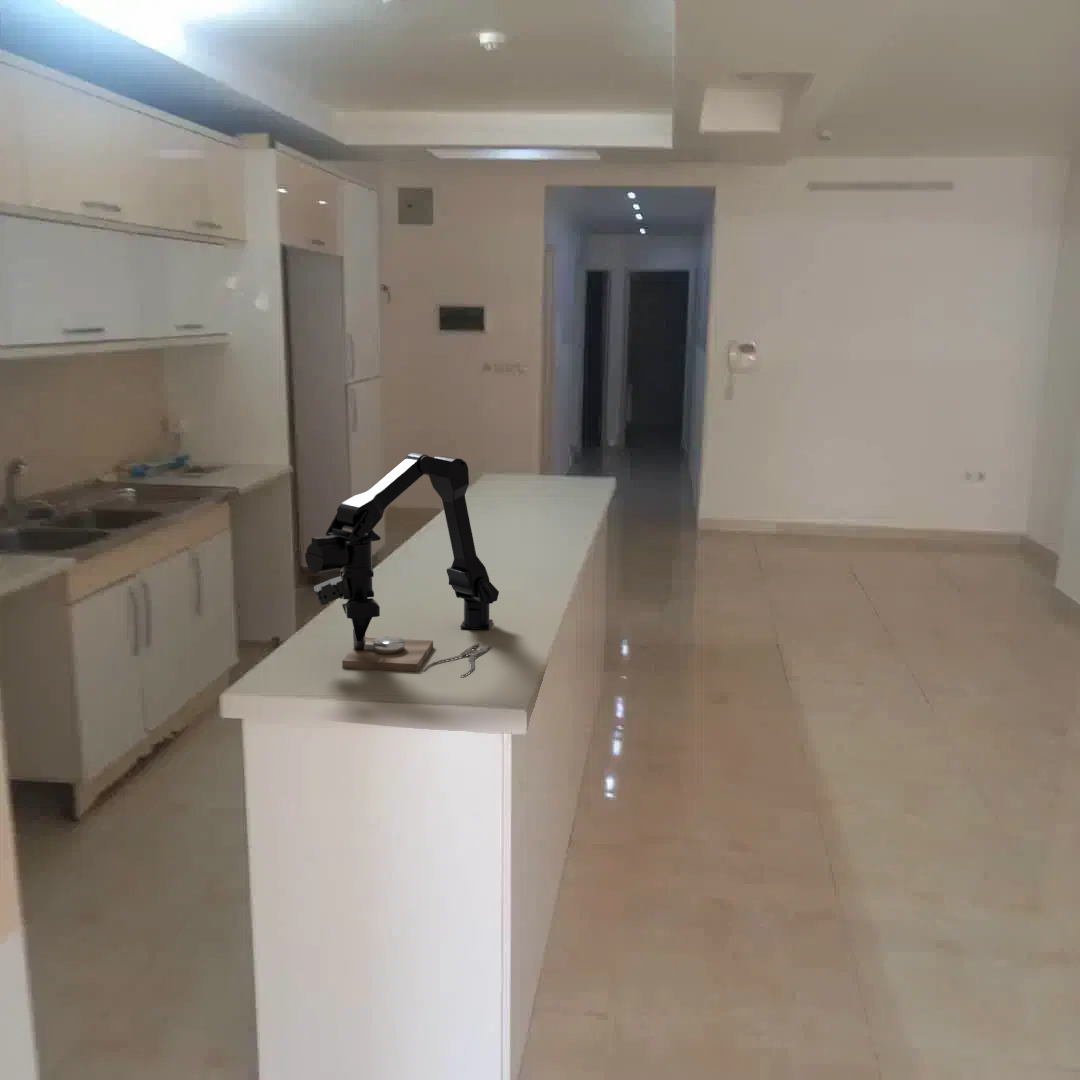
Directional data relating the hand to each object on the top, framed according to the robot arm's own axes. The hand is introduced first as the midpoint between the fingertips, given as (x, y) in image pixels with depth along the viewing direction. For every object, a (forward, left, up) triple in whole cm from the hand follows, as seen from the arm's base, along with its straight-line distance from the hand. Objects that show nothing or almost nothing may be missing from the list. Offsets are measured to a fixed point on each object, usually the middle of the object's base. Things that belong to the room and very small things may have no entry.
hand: (359, 640), depth 203 cm
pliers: (-3, +19, -5) cm, 20 cm away
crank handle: (-3, +3, -2) cm, 5 cm away
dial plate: (-3, +5, -4) cm, 7 cm away
